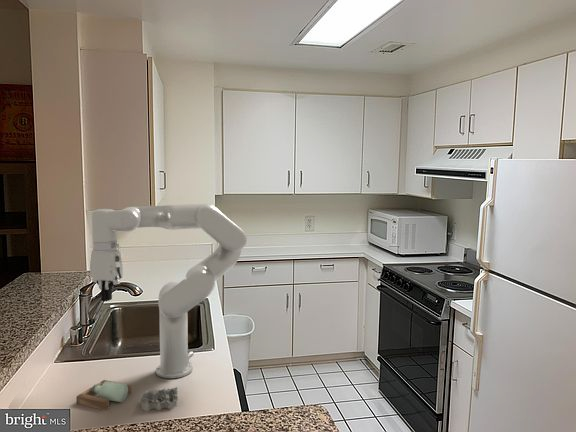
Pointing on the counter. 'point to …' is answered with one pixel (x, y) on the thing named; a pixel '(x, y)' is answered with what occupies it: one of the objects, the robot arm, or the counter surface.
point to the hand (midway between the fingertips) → (106, 300)
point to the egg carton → (153, 396)
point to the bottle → (111, 391)
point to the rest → (95, 398)
